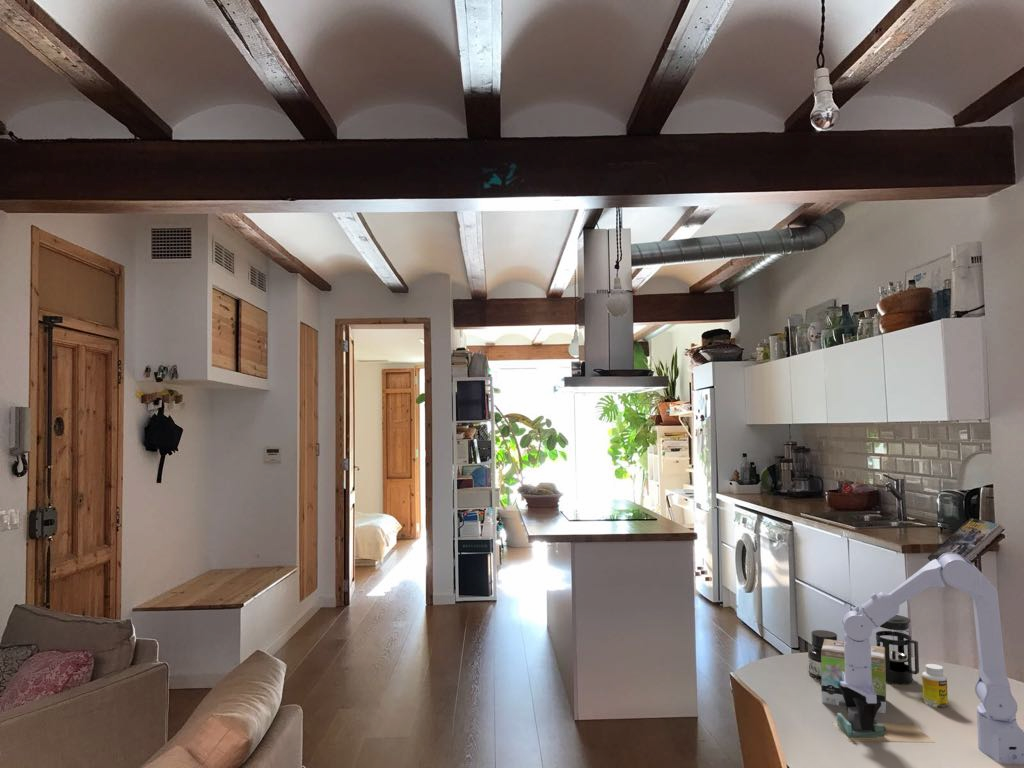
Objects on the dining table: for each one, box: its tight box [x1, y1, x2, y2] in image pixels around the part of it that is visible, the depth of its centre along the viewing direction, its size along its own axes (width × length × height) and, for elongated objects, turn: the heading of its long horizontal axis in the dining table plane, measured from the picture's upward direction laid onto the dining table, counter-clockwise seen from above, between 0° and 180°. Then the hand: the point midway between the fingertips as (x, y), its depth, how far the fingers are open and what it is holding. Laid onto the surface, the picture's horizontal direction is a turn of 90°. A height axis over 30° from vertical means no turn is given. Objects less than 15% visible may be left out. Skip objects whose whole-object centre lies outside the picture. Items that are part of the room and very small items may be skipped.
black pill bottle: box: [807, 629, 838, 680], centre depth 208 cm, size 10×9×12 cm
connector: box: [847, 707, 886, 732], centre depth 170 cm, size 4×8×5 cm, turn 87°
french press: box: [875, 614, 920, 685], centre depth 205 cm, size 12×9×23 cm
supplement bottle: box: [921, 663, 949, 709], centre depth 186 cm, size 6×6×10 cm
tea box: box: [820, 639, 887, 714], centre depth 188 cm, size 15×10×15 cm, turn 62°
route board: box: [832, 712, 935, 743], centre depth 170 cm, size 10×19×4 cm, turn 87°
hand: (859, 722), depth 170 cm, fingers open, 7 cm apart
